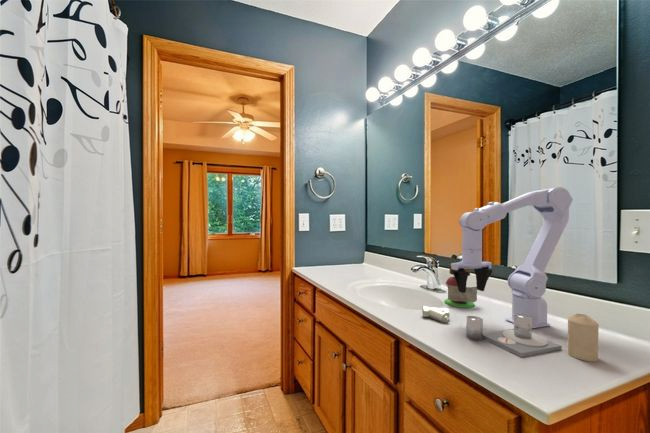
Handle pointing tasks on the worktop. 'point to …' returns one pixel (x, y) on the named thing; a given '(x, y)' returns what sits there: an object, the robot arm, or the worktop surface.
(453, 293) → the multicoloured stacked round part
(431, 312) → the pipe fitting
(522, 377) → the worktop surface
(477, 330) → the cylinder
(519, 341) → the scale
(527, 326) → the cylinder
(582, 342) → the candle
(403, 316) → the worktop surface
